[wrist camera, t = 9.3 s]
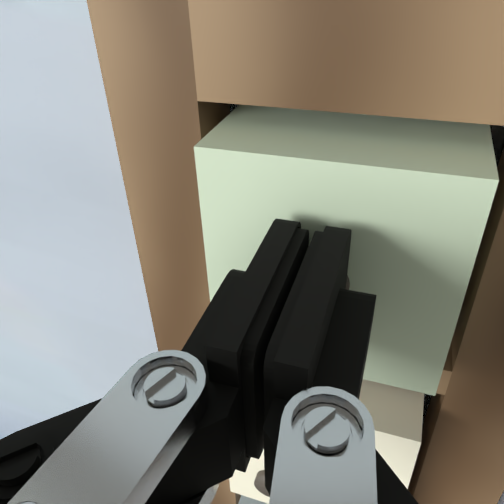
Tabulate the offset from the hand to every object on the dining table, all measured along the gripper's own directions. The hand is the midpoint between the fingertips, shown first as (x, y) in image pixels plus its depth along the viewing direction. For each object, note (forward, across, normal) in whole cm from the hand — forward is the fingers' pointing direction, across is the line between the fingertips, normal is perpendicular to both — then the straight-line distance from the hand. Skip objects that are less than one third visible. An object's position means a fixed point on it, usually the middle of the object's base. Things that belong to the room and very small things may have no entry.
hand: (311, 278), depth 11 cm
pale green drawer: (+3, 0, 0) cm, 3 cm away
